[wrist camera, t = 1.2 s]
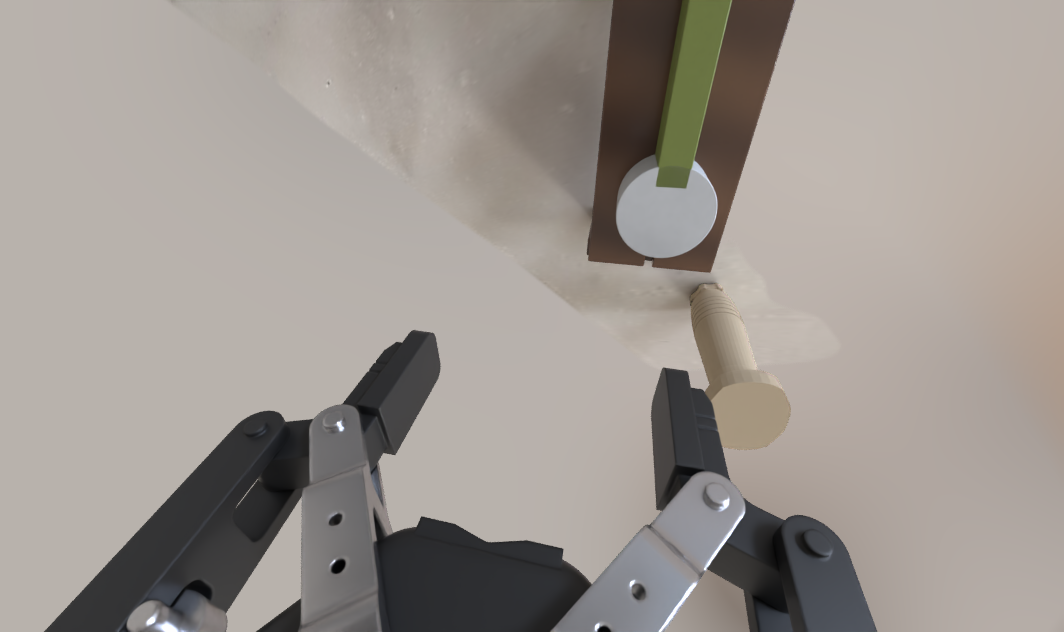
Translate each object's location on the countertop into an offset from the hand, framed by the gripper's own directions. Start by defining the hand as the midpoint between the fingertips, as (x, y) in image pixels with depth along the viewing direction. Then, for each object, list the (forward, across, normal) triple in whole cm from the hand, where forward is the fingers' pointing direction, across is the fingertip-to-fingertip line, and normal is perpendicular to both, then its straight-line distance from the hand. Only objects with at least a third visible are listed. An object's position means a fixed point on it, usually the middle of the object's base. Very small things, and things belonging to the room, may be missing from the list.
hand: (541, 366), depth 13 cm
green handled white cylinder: (+16, -5, -5) cm, 17 cm away
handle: (+24, -12, +10) cm, 29 cm away
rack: (+24, -5, -5) cm, 25 cm away
